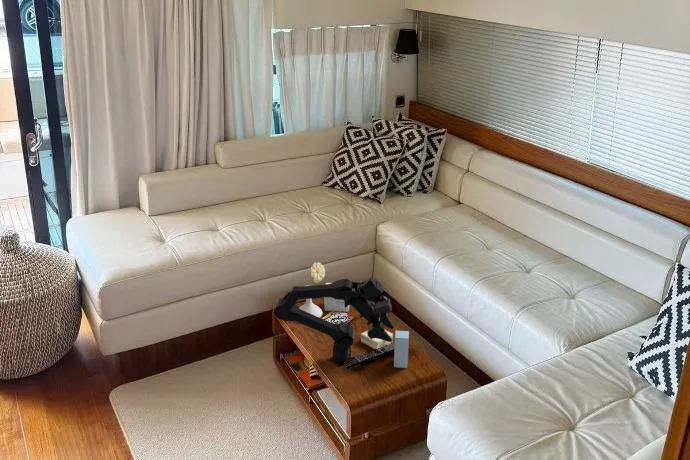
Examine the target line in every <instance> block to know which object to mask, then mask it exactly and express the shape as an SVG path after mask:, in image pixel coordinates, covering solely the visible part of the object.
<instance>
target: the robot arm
mask: <svg viewBox="0 0 690 460" xmlns="http://www.w3.org/2000/svg"><path fill="white" fill-rule="evenodd" d="M330 283H331V284H326V283H325V284H316V285H315V284H314V285H313V284H312V286H306V285H304V286H298V285H294V286H292V287H291V289H290V290H289V291H287V293H286V294H284V296H283V297H282V298H278V300H277V301H276V303H275V306H274V309H273V315H274V317H275V318H276V319H277V320H280V321H285V322H296V323H299V324H301V325H303V326H306V327H308V328H310V329H313V330H314V331H316V332H319V333H322V334H324V335H326V336H328V337H330V338H331V339H332V340H333V345H332V356H331V357H330V358H329V360H330V361H333V363H335V364H337V365H338V366H340V367H341V366H344V365H345V364H344V362H345V361H347V360H349V359H350V358H353V357H351V356H352V347H351V346H353V344H354V342H355V336H356V330H355V329H354V328H355V327H353V326H351V323H346V322H344V321H343V320H340V322H339V323H333V322H331V321H328V320H326V319H324V318H321V317H320V318H319V317H317V316H315V315H312V314H310V313H308V312H305V311H303V310H301V309H299V308H300V307H298V305H297V304H296V303H297V302H298V300H306V299H322V298H323V299H324V298H325V297H331V298H334V299H337V300H344V303H345V305H344V307H345V308H346V307H347V306H348V305H350V306H351V307H352V308H353V309H354V310H355V311H356V313H358V315H359V318H361V319H362V318H363V319H364V320H365V321H366V324H367V326H368V328H367V330H368V334H367V336H368V337H369V338H370V339H374V338H377V339H381V340H385V341H388V342H392V339H391V337H390V336H389V335H388V333H387V332H386V331H387V330H386V327H387V328H388V329H390V330H392V329H394V328H395V327H394V325H393V323H392V321H391V320H390V318H389V315H388V314H389V313H391V312H392V310H393V309H392V308H393V304H392V303H391V299H390V298H388V297H387V296H385V295H381V294H382V293H383V292H384V290H385V289H384V287H383V286H382V285H383V284H381V283H380V281H379V280H376V279H373V278H372V277H369V278H367V280H366V281H365V282H364V283H363V284H362V282H358V281H357V282H356V281H351V280H350V279H349V278H343V279H338V280H335V281H333V282H330ZM380 295H381V296H380ZM378 296H380V299H379V300H378V301H377V302H374V301H373V300H374V299H376V298H377V297H378ZM385 330H386V331H385ZM392 343H393V342H392ZM343 364H344V365H343Z"/></svg>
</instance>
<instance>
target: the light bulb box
mask: <svg viewBox="0 0 690 460" xmlns="http://www.w3.org/2000/svg"><path fill="white" fill-rule="evenodd" d="M331 283H332V282H326V283H325V285H326V284H331ZM323 303H324V304H323V305H324V306H323V308H324V309H323V310H324V311H325V312H326V311H328V312H342V311H343V313H344V312H346V313H349V310H350V306H351V305H348V306H347V307H346V308H345V307H344V305H345V303H344V300H337V299H334V298H331V297H325V298H323Z"/></svg>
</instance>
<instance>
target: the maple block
mask: <svg viewBox="0 0 690 460" xmlns="http://www.w3.org/2000/svg"><path fill="white" fill-rule="evenodd" d="M385 331H386V332H387V333H388V335H389V336H390V337H391V339H392V343H393V342H394V333H393V332H390V331H388V330H387V329H385ZM367 334H368V329H367V330H366V331H364V332H362V333H360V342H361V343H363V344H365V345H366V346H368V347H370V348H372V349H373V350H375V349H378V348H381V347H383V346H385V345H387V346H388V345H390V344H392V343H391V342H388V341H385V340H381V339H377V338H374V339H370V338H369V337H368V336H367ZM385 347H386V346H385ZM383 348H384V347H383ZM381 349H382V348H381Z"/></svg>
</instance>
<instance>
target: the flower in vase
mask: <svg viewBox="0 0 690 460" xmlns="http://www.w3.org/2000/svg"><path fill="white" fill-rule="evenodd" d="M310 276H311V277H312V280H311V282H310V283H309V282H307V283H306V282H303V283H304V284H305V286H313V282H314V283H315V284H319V283H320V282H321V281H322V280H323V279H325V276H326V269H325V266H324V265H323V264H322V263H321V262H313V263H312V265H311V266H310ZM312 299H313V298H312ZM312 299H305V301H306V302H305V303H304V304H302V305H301V306H299V307H298V308H299V309H301V310H303V311H305V312H308V313H310V314H312V315H315V316H317V317H319V318H321V317H322V316H323V310H322V308H321V307H320V306H318V305H316V304H315V303H313V301H312Z"/></svg>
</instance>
